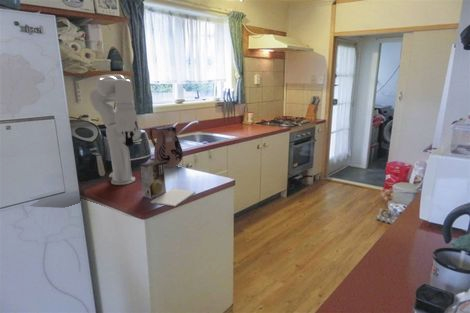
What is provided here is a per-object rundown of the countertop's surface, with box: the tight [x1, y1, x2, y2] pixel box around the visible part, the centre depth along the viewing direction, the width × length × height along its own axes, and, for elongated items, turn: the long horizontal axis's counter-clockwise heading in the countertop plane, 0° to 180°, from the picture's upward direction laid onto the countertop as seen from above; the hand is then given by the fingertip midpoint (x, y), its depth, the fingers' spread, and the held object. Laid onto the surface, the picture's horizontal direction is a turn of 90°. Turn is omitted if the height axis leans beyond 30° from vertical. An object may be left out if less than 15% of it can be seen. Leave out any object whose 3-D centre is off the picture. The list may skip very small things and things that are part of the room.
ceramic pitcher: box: [148, 124, 184, 168], centre depth 203 cm, size 18×21×25 cm
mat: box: [150, 188, 197, 208], centre depth 152 cm, size 13×18×1 cm
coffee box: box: [139, 159, 167, 200], centre depth 155 cm, size 9×6×16 cm
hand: (129, 145), depth 155 cm, fingers closed
